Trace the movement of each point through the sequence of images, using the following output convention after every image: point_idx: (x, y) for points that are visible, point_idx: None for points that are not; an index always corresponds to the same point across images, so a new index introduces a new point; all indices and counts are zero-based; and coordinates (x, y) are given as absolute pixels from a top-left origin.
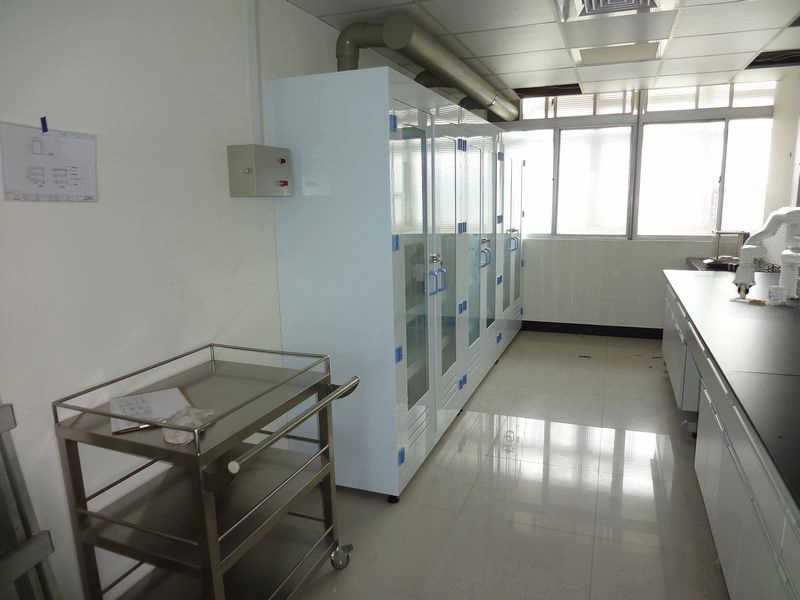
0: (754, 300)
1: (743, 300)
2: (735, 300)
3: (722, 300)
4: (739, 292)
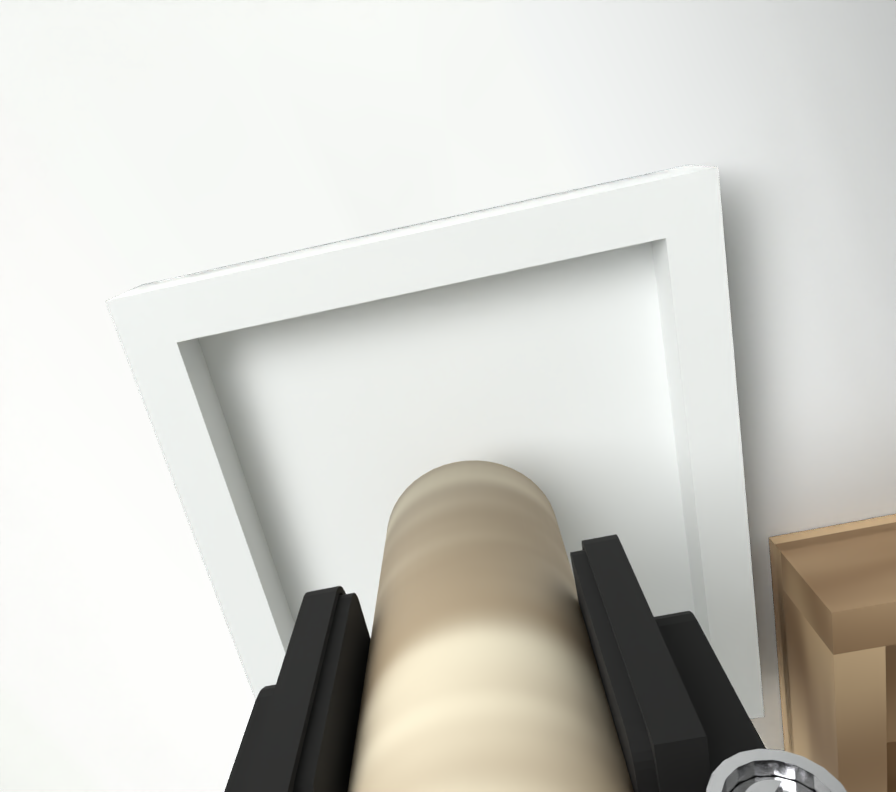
0: (884, 629)
1: (455, 424)
2: None
3: (84, 692)
4: None
